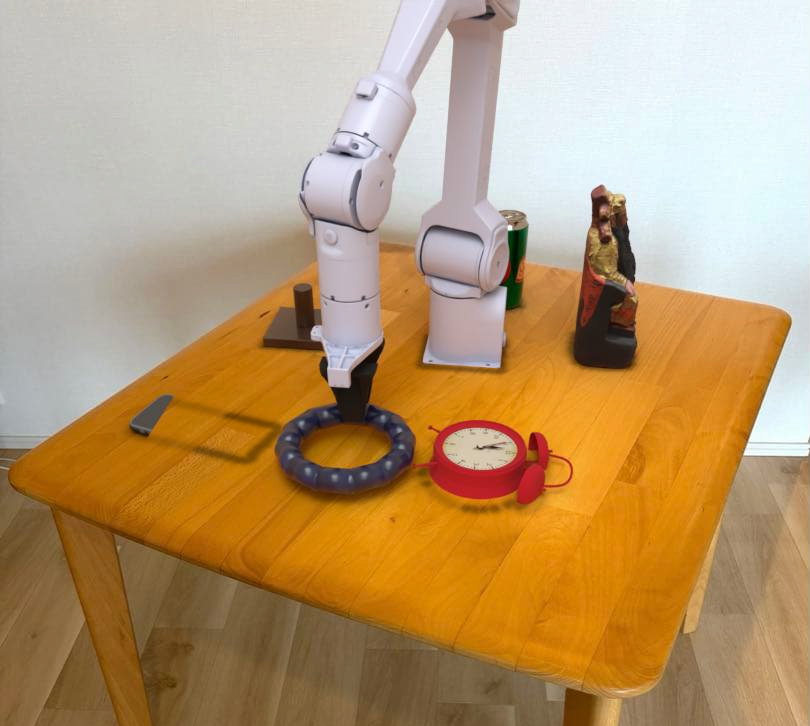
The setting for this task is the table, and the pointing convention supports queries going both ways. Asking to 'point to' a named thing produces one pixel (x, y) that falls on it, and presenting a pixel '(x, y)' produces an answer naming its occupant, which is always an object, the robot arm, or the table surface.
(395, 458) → the ring
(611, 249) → the statue
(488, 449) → the alarm clock
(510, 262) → the soda can
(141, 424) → the grey flat tapered piece
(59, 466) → the table surface
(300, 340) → the post
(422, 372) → the table surface
